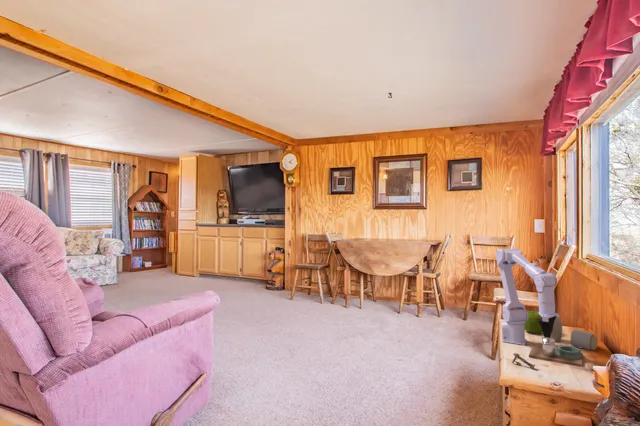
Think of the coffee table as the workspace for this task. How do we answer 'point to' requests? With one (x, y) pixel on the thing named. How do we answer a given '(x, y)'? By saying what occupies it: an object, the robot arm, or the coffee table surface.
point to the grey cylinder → (583, 339)
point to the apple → (533, 323)
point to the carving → (557, 329)
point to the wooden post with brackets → (522, 361)
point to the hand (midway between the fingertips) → (548, 334)
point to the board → (559, 355)
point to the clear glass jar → (548, 347)
